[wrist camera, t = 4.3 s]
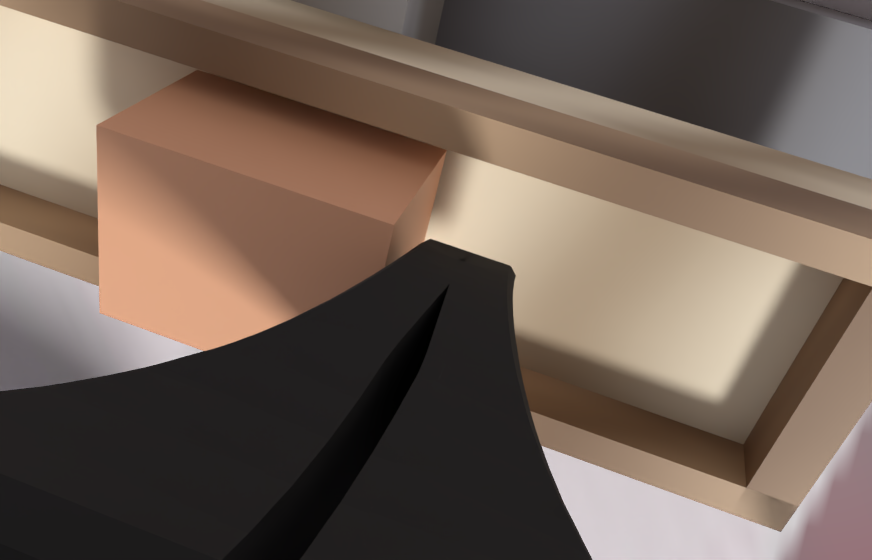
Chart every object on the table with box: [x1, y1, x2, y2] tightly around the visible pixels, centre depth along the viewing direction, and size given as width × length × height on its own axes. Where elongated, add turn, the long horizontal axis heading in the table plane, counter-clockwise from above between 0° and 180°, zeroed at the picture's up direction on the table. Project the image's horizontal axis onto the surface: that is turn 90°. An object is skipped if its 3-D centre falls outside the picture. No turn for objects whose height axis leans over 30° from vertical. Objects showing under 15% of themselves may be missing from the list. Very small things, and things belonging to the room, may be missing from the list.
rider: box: [96, 70, 447, 351], centre depth 12 cm, size 4×3×2 cm
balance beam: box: [0, 0, 872, 532], centre depth 15 cm, size 20×8×6 cm, turn 77°
